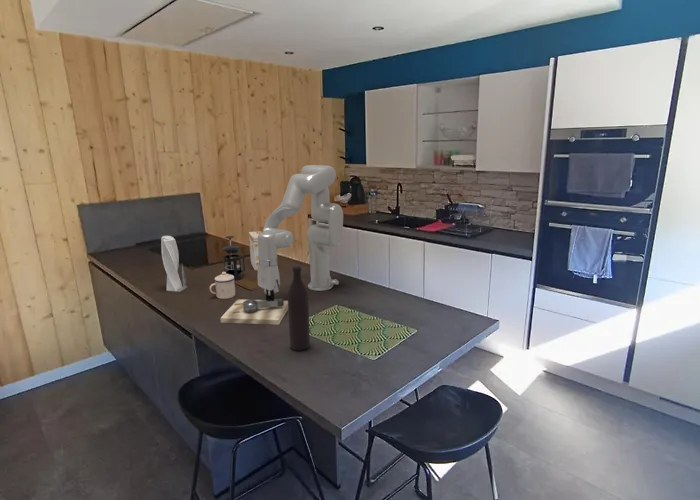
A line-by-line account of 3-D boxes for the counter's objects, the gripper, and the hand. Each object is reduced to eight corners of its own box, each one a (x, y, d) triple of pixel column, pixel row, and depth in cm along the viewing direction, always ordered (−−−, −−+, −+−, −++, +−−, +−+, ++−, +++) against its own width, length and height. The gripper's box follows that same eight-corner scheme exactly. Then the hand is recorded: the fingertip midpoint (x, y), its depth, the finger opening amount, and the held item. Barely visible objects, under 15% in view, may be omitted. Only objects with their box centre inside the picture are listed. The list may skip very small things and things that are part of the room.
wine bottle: (310, 341, 150) (307, 263, 143) (309, 351, 144) (306, 269, 136) (291, 341, 150) (287, 263, 142) (289, 351, 143) (285, 269, 135)
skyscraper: (177, 293, 198) (170, 236, 191) (162, 292, 200) (155, 236, 192) (187, 287, 206) (181, 232, 199) (173, 286, 208) (166, 232, 200)
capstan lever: (234, 313, 168) (234, 306, 167) (235, 307, 174) (234, 301, 173) (284, 308, 173) (284, 301, 172) (283, 302, 178) (282, 296, 178)
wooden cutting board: (290, 305, 183) (289, 299, 183) (279, 324, 164) (278, 318, 164) (237, 303, 185) (237, 297, 185) (220, 322, 166) (220, 316, 165)
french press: (226, 282, 212) (222, 239, 206) (220, 277, 220) (216, 236, 214) (248, 278, 219) (245, 236, 213) (241, 273, 226) (238, 233, 220)
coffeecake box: (267, 269, 233) (265, 236, 228) (254, 271, 231) (252, 237, 226) (262, 262, 247) (260, 230, 242) (250, 263, 244) (248, 231, 239)
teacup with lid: (230, 290, 201) (228, 268, 198) (239, 296, 194) (237, 272, 191) (206, 296, 194) (204, 273, 190) (214, 302, 187) (212, 278, 184)
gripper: (250, 260, 174) (252, 301, 179) (272, 267, 165) (274, 309, 169) (264, 256, 180) (266, 296, 184) (286, 263, 170) (288, 304, 175)
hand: (270, 302), depth 177 cm, fingers closed
